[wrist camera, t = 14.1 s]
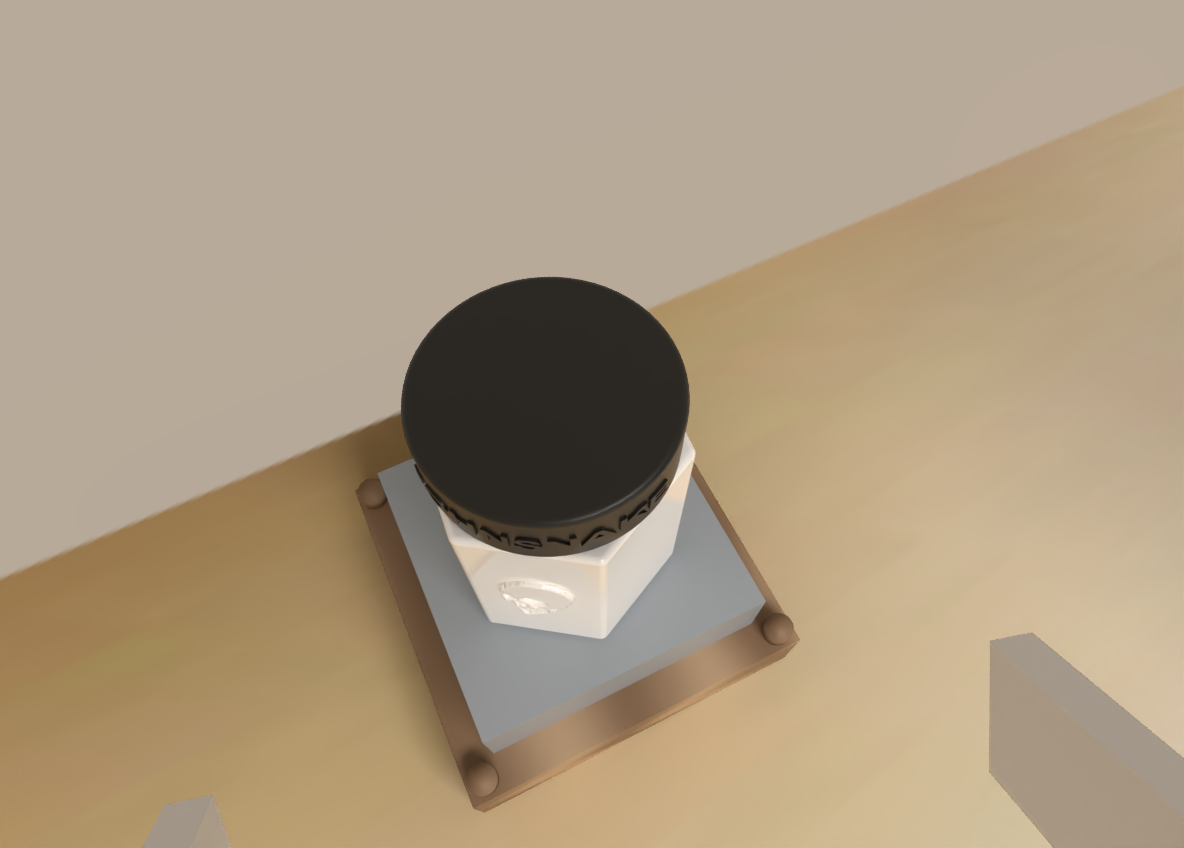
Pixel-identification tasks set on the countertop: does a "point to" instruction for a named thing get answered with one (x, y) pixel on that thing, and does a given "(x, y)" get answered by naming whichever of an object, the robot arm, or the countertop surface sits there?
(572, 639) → the grey top brick
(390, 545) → the walnut base brick
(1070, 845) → the robot arm
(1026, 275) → the countertop surface
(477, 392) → the jar
